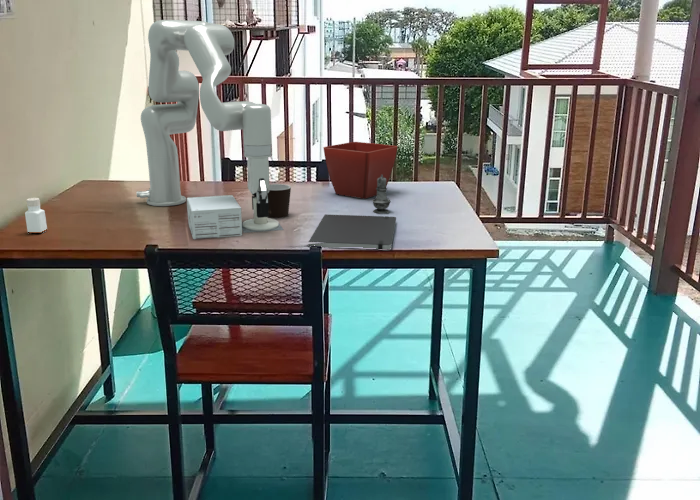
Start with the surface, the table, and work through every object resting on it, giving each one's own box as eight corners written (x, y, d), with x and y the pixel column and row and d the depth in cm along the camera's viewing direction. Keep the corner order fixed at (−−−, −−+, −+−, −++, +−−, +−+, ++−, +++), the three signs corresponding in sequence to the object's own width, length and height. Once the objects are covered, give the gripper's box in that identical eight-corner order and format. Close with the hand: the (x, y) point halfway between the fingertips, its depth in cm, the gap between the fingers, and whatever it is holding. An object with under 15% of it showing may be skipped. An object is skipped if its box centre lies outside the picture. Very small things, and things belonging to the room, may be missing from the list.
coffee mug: (289, 223, 189) (289, 190, 186) (260, 223, 190) (259, 190, 187) (294, 213, 201) (293, 182, 198) (266, 213, 201) (265, 181, 198)
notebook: (324, 221, 194) (308, 249, 168) (324, 214, 194) (308, 241, 167) (396, 223, 192) (391, 252, 166) (396, 216, 191) (391, 244, 165)
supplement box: (243, 241, 173) (242, 207, 170) (193, 245, 169) (190, 210, 166) (234, 225, 188) (233, 193, 185) (188, 228, 184) (186, 196, 182)
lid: (245, 232, 175) (244, 203, 173) (240, 222, 185) (239, 195, 182) (281, 229, 178) (280, 201, 176) (275, 220, 187) (274, 193, 185)
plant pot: (353, 186, 241) (354, 140, 236) (397, 192, 230) (398, 145, 225) (322, 195, 226) (321, 147, 221) (367, 202, 215) (368, 152, 210)
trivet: (243, 237, 175) (243, 232, 175) (239, 227, 185) (238, 222, 185) (283, 235, 178) (283, 229, 178) (277, 224, 188) (276, 219, 188)
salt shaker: (34, 230, 181) (29, 197, 178) (48, 230, 181) (43, 197, 178) (27, 234, 177) (21, 200, 174) (41, 234, 177) (36, 200, 174)
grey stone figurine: (394, 211, 204) (395, 174, 200) (382, 215, 200) (383, 176, 196) (380, 208, 208) (380, 171, 204) (368, 211, 204) (368, 174, 200)
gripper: (240, 146, 182) (243, 206, 187) (248, 156, 166) (251, 222, 171) (266, 145, 184) (268, 205, 189) (277, 155, 168) (279, 220, 173)
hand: (260, 213), depth 180 cm, fingers open, 8 cm apart
